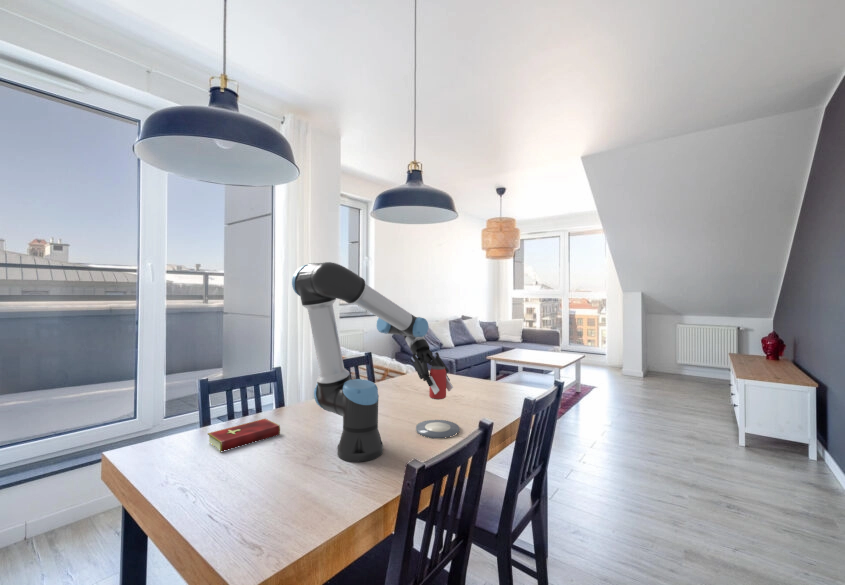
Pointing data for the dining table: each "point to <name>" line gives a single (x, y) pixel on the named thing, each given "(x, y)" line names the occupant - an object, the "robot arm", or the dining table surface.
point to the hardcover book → (243, 434)
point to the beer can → (438, 382)
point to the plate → (437, 428)
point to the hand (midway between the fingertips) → (444, 390)
